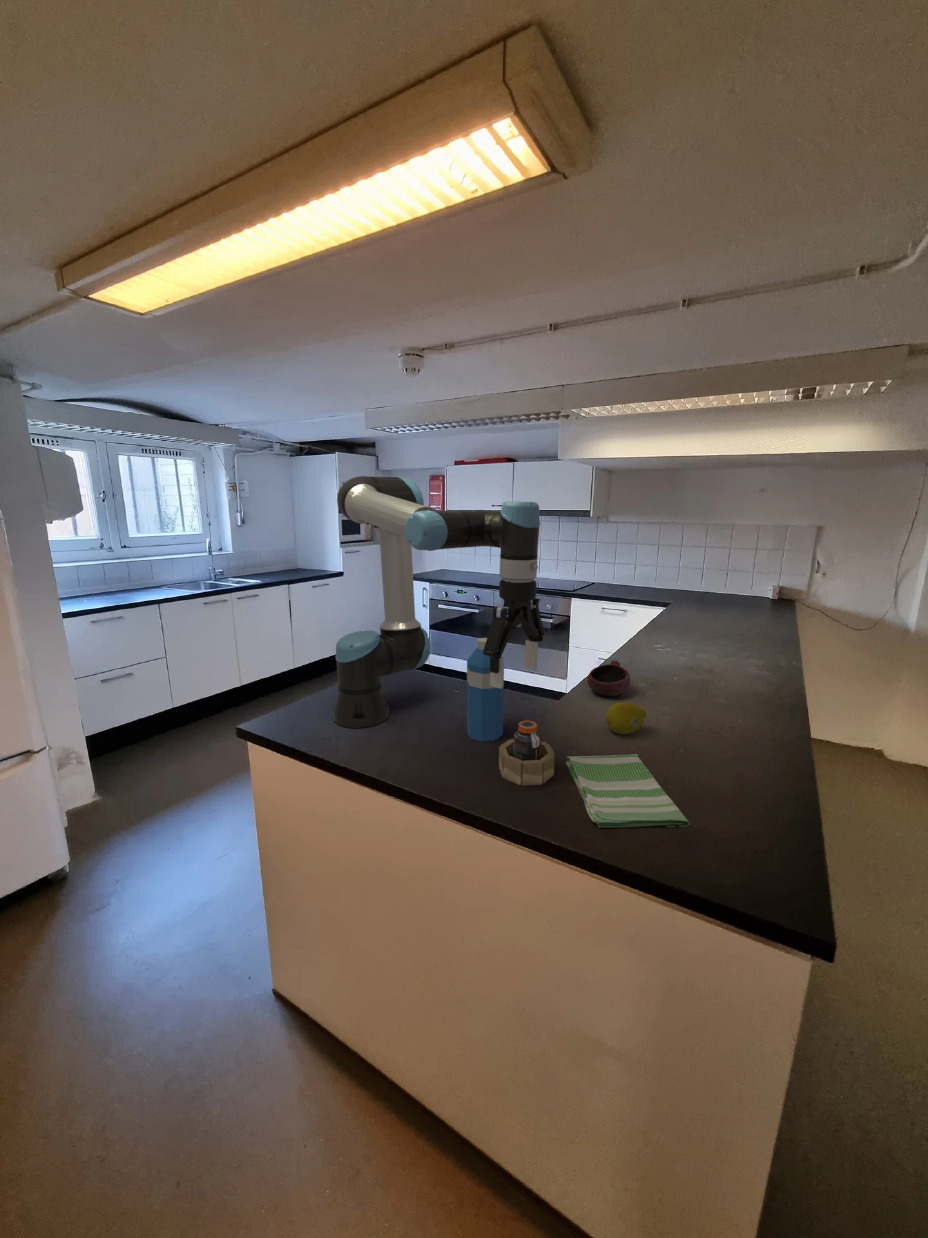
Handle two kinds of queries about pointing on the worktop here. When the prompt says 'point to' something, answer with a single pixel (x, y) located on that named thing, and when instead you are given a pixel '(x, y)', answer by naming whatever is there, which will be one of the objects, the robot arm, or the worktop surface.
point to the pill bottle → (527, 742)
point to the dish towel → (622, 792)
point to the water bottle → (483, 698)
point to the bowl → (609, 679)
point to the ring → (526, 765)
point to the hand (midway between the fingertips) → (514, 677)
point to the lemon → (625, 717)
